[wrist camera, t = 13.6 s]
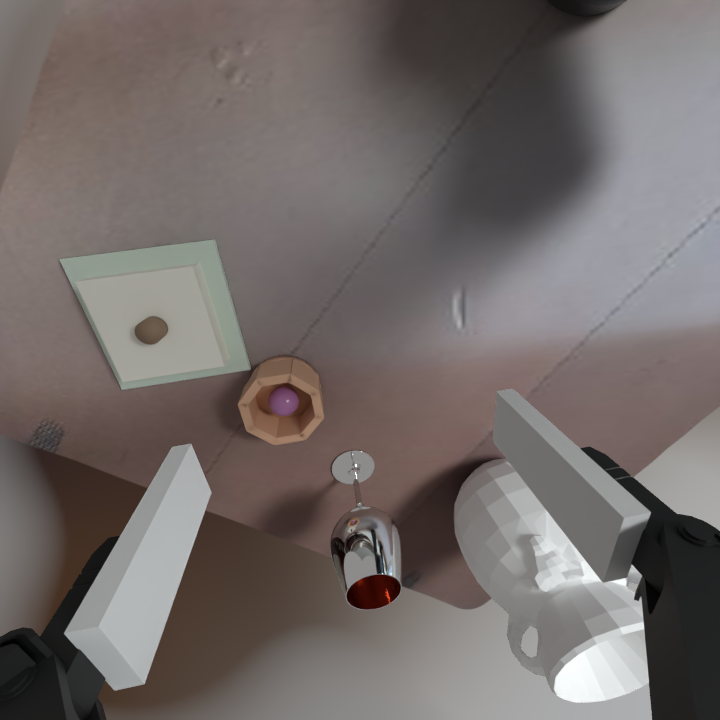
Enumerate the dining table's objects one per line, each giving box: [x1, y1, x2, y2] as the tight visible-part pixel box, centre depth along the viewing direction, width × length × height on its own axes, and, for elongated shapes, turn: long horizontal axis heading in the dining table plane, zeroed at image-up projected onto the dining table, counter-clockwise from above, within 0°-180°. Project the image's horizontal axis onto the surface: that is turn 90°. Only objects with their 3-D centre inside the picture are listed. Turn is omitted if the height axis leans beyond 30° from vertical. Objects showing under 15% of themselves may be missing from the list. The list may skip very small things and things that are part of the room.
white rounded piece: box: [454, 459, 649, 702], centre depth 43 cm, size 19×18×25 cm
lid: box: [75, 263, 229, 382], centre depth 35 cm, size 11×11×4 cm
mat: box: [59, 239, 251, 390], centre depth 37 cm, size 15×15×1 cm
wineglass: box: [330, 450, 402, 610], centre depth 42 cm, size 8×8×18 cm
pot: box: [238, 355, 324, 445], centre depth 40 cm, size 9×9×6 cm
